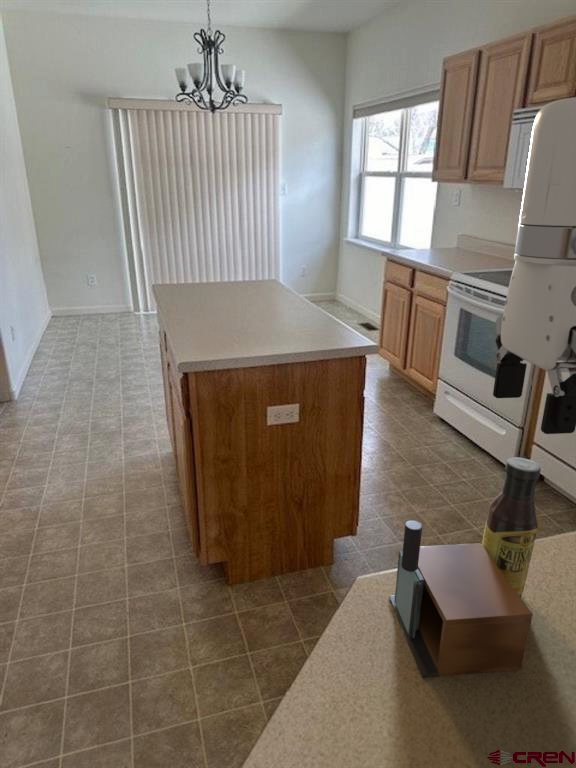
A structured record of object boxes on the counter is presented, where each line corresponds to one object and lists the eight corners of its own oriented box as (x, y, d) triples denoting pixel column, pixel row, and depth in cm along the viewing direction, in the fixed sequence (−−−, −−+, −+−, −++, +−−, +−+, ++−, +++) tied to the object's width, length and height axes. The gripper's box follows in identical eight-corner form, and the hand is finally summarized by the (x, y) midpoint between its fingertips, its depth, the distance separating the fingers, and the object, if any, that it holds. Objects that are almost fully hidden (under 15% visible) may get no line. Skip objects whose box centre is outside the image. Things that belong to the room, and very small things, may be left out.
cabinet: (472, 591, 74) (480, 542, 71) (521, 669, 62) (532, 613, 59) (388, 597, 73) (393, 548, 70) (421, 677, 60) (428, 621, 58)
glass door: (403, 600, 72) (412, 509, 67) (420, 638, 65) (431, 540, 61) (389, 601, 71) (397, 510, 67) (404, 639, 65) (414, 541, 61)
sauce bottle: (491, 612, 70) (514, 479, 64) (465, 581, 76) (483, 456, 69) (533, 603, 72) (560, 472, 65) (504, 573, 78) (526, 450, 71)
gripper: (665, 254, 43) (620, 448, 48) (544, 239, 59) (520, 385, 64) (578, 254, 42) (542, 451, 47) (479, 239, 58) (461, 387, 64)
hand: (530, 413), depth 56 cm, fingers open, 9 cm apart
